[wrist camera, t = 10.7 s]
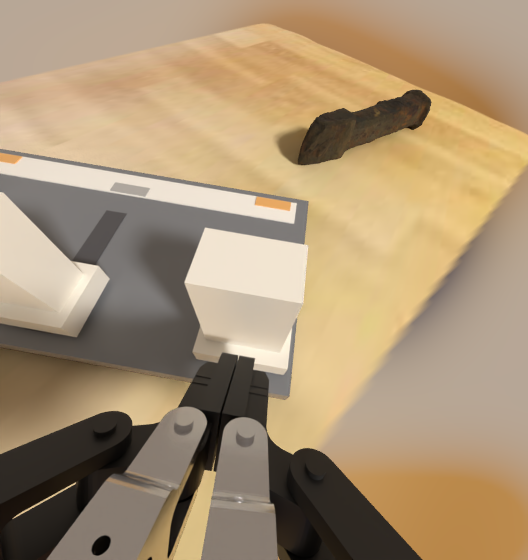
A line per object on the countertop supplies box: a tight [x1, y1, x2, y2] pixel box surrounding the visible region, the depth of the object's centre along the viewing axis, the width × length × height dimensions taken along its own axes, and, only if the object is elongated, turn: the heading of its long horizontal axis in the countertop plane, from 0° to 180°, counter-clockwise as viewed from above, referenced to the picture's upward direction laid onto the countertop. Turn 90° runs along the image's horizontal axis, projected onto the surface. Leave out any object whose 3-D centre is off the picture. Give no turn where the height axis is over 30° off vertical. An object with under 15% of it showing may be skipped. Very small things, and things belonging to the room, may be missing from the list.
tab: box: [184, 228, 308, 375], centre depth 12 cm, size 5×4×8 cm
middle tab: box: [0, 192, 109, 337], centre depth 13 cm, size 5×4×8 cm
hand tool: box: [298, 90, 431, 165], centre depth 29 cm, size 19×4×5 cm, turn 122°
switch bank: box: [0, 149, 308, 400], centre depth 19 cm, size 30×16×2 cm, turn 81°
